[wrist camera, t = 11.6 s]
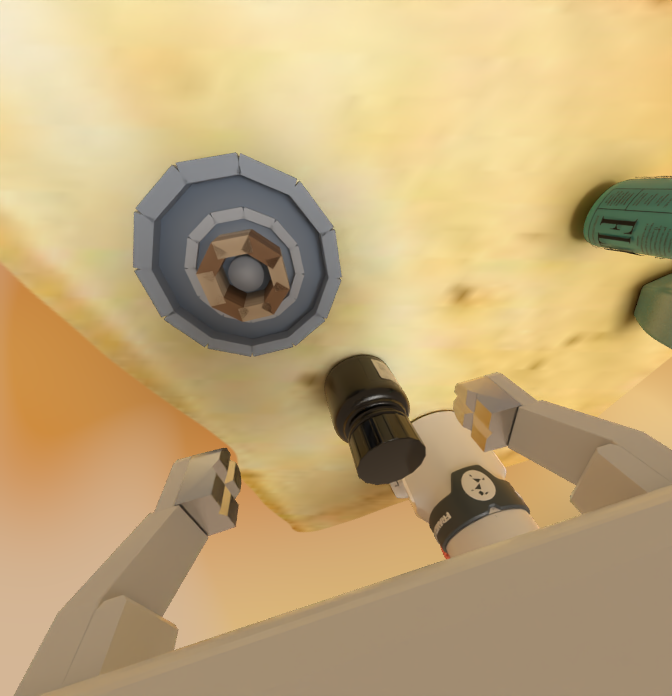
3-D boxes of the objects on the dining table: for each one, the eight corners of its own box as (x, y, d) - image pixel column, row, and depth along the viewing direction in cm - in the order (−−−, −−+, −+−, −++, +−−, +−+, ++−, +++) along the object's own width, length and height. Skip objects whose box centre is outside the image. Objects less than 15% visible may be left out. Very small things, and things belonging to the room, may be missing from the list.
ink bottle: (389, 400, 37) (432, 479, 27) (329, 415, 36) (350, 502, 26) (388, 343, 32) (442, 415, 22) (318, 358, 31) (340, 440, 21)
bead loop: (292, 295, 25) (295, 309, 22) (226, 310, 25) (220, 327, 22) (273, 224, 22) (274, 229, 19) (196, 239, 21) (183, 247, 18)
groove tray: (344, 322, 29) (350, 334, 27) (199, 357, 27) (192, 373, 25) (316, 143, 20) (322, 137, 18) (101, 180, 19) (77, 178, 16)
